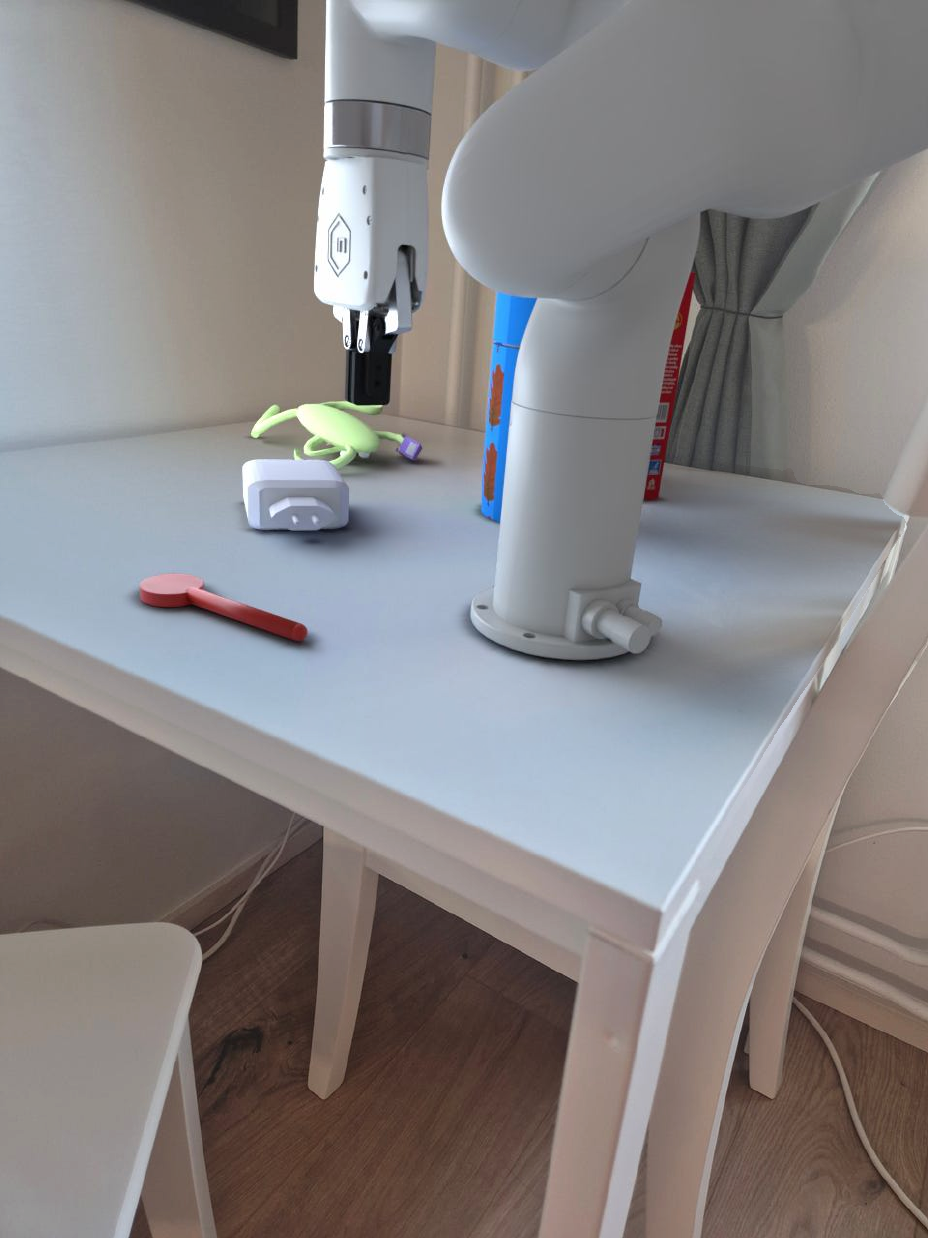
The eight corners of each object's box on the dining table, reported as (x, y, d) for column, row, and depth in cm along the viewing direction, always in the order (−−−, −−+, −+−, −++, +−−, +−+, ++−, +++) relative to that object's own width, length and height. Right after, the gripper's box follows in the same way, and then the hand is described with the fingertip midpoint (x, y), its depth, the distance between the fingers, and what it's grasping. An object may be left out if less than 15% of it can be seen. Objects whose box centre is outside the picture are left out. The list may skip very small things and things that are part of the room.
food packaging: (658, 498, 99) (695, 272, 90) (622, 501, 97) (657, 269, 87) (588, 470, 111) (615, 268, 102) (555, 471, 109) (579, 265, 99)
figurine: (366, 430, 126) (367, 393, 124) (446, 470, 105) (449, 425, 103) (245, 433, 118) (244, 392, 116) (304, 476, 96) (304, 428, 94)
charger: (252, 552, 71) (243, 505, 84) (359, 549, 74) (334, 504, 87) (251, 497, 69) (242, 458, 82) (361, 497, 72) (335, 459, 85)
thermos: (576, 534, 83) (611, 261, 73) (471, 521, 84) (491, 253, 75) (583, 508, 93) (615, 264, 83) (489, 496, 94) (509, 256, 85)
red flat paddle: (326, 632, 56) (327, 616, 56) (282, 654, 53) (281, 636, 52) (176, 581, 63) (175, 566, 63) (127, 596, 60) (125, 581, 59)
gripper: (286, 139, 63) (286, 388, 70) (380, 124, 52) (368, 423, 59) (374, 153, 67) (365, 388, 74) (480, 143, 56) (457, 420, 63)
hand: (367, 402), depth 66 cm, fingers closed
